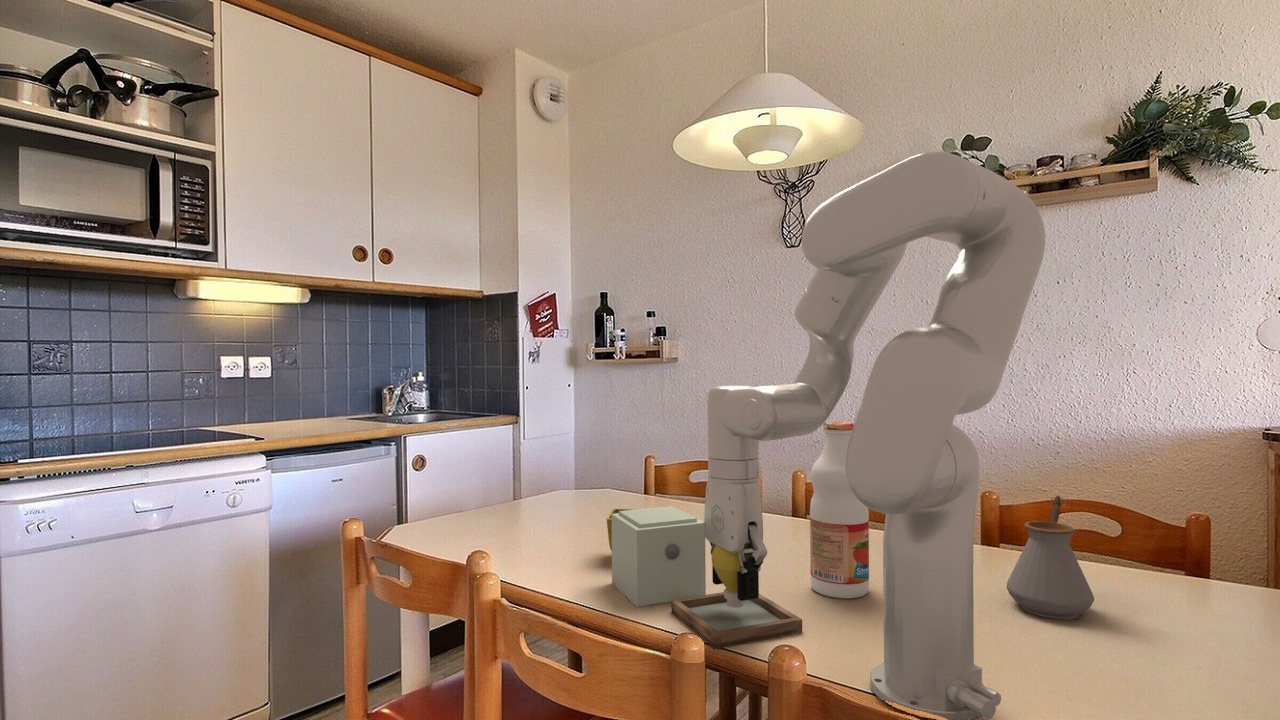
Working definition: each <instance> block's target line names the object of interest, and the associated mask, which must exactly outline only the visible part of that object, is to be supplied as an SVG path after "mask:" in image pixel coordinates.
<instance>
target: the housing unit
mask: <svg viewBox="0 0 1280 720" xmlns="http://www.w3.org/2000/svg"><path fill="white" fill-rule="evenodd" d="M635 509H636V510H626V511H619V513H616V514H612V552H611V583H612V585H614V586H615V588H617V590H619V591H620V592H621V593H622V594H623V595H624V596H625V597H626V596H627V597H626V598H627V599H628V600H629V601H631V602H632V603H633V604H634V605H635V606H636V607H637V608H640V607H644V606H650V605H651V606H652V605H659V604H664V603H669V602H670V603H671V600H676V599H683V598H689V597H696V596H702V595H707V593H706V589H707V588H706V587H707V586H706V585H707V583H706V580H707V579H706V576H707V574H706V572H707V571H706V569H707V568H706V538H705V535H704V520H703V521H702V520H700V519H698V518H697V517H695V516H693V515H692V514H689V513H687V512H685V511H683V510H681V509H679V508H676V507H674V506H672V505H670V506H659V507H647V508H635Z"/></svg>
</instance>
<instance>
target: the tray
mask: <svg viewBox="0 0 1280 720" xmlns="http://www.w3.org/2000/svg"><path fill="white" fill-rule="evenodd" d="M670 604H671V606H670V607H671V609H670V611H671V613H672V614H673V615H674V616H675V617H677V618H678V619H679V620H680V621H681V622H682V623H684V625H686V626H687V627H688V628H689V629H691V630H692V631H693V632H695V634H697V636H699V637H700V638H702V640H704V641H705V642H706V643H707V644H708V645H710V646H711V647H712V648H713V649H715V650H716V649H720V648H725V647H732V646H737V645H742V644H748V643H753V642H758V641H762V640H768V639H773V638H778V637H783V636H784V635H785V636H789V634H790V635H793V634H794V635H795V634H799V633H800V634H801V633H803V618H801V617H799V616H798V615H796V614H794V613H792V612H790V610H788V609H786V608H784V607H783V606H781V605H779V604H778V603H776V602H774V601H773V600H771V599H769V598H768V597H766V596H764V595H763V594H761V593H759V597H758V598H756V599H750V600H744V601H743V606H742V607H739V608H732V607H729V606H728V605H727V599H725V598H724V591H723V592H717V593H709V594H706V595H702V596H696V597H689V598H683V599H676V600H671V602H670Z"/></svg>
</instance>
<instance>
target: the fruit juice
mask: <svg viewBox="0 0 1280 720" xmlns="http://www.w3.org/2000/svg"><path fill="white" fill-rule="evenodd" d="M853 427H854V423H853V422H850V421H825V422H824V423H823V425H822V429H823V433H824V435H825V439H824V444H823V447H822V451H821V453H820V455H819V457H818V458H817V459H816V460H815V461H814V463H813V465H812V467H811V468H810V469H811V470H810V480H811V485H812V488H813V494H812V497H811V499H810V506H809V521H810V522H809V523H810V524H809V527H810V529H809V533H810V535H809V537H810V540H809V541H810V542H809V545H810V546H809V547H810V549H809V552H810V558H809V560H810V561H809V562H810V563H809V565H810V584H811V585H810V586H811V588H812V590H813V591H814V592H816V593H818V594H820V595H822V596H826V597H831V598H833V599H834V598H835V599H857V598H858V599H859V598H861V597H865V596H866V595H867V594H868V592H869V589H870V588H869V587H870V544H869V543H870V538H869V536H870V535H869V534H870V533H869V532H870V529H869V527H870V525H869V524H870V520H869V518H870V517H869V515H870V513H869V508H868V507H866V506H864V505H863V504H862V503H861V502H860V501H859V500H858V499H857V498H856V497H855V495H854V494H853V492H852V490H851V488H850V486H849V484H848V481H847V477H846V470H845V459H846V452H847V448H848V444H849V440H850V437H851V433H852V430H853Z"/></svg>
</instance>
